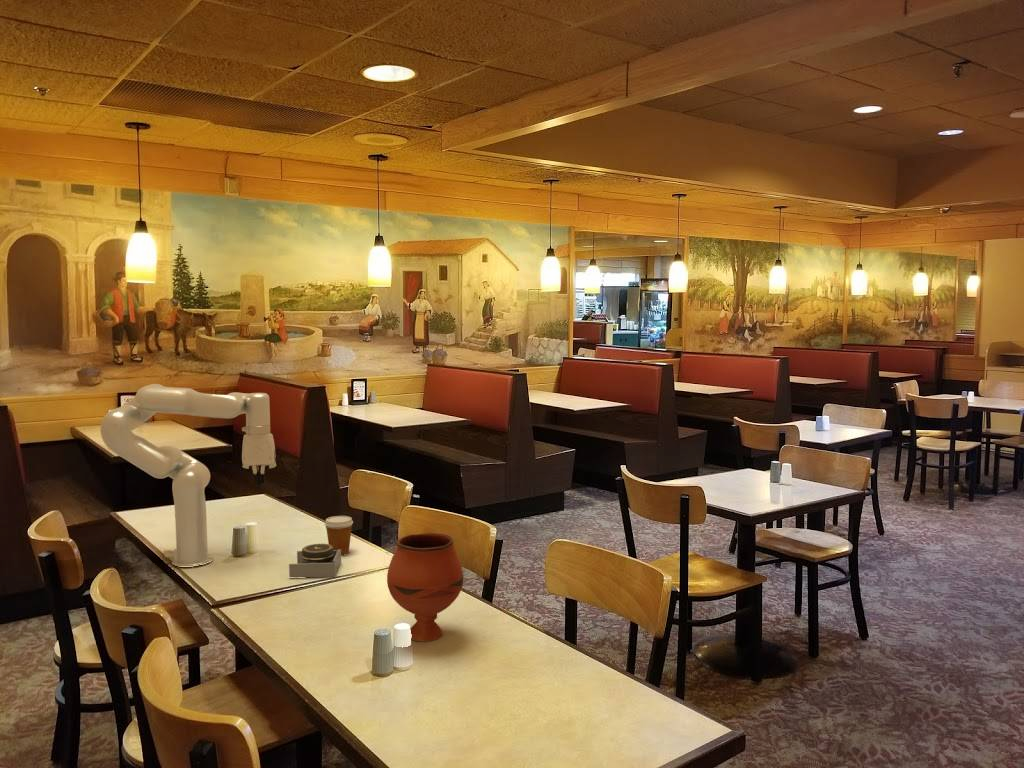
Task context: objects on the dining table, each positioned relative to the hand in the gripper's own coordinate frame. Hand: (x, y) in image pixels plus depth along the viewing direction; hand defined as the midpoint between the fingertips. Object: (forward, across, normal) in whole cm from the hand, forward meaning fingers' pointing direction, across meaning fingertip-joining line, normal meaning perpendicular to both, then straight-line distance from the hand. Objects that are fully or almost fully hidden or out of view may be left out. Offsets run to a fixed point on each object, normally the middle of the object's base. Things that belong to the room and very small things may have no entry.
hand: (260, 485), depth 263 cm
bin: (+25, +20, -14) cm, 35 cm away
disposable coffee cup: (+25, +25, +4) cm, 36 cm away
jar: (+25, +21, -14) cm, 36 cm away
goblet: (+25, +56, -68) cm, 91 cm away
